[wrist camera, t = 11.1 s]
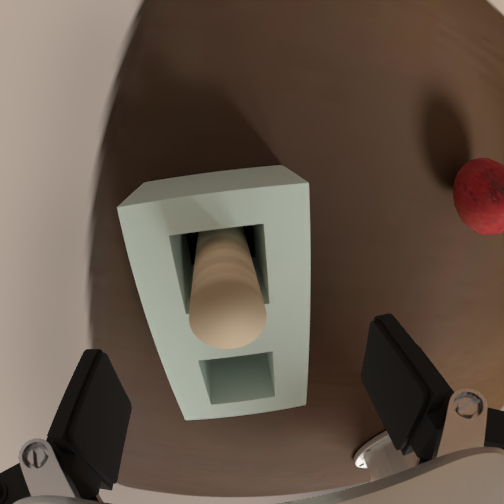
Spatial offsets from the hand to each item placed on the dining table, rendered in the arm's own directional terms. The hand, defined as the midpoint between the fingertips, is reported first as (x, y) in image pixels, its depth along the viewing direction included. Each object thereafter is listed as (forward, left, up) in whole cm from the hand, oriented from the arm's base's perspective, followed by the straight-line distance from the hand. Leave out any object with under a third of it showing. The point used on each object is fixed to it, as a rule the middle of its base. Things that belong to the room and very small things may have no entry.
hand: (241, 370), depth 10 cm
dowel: (+1, 0, -12) cm, 12 cm away
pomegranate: (+3, -20, -12) cm, 23 cm away
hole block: (-3, 0, -12) cm, 13 cm away
